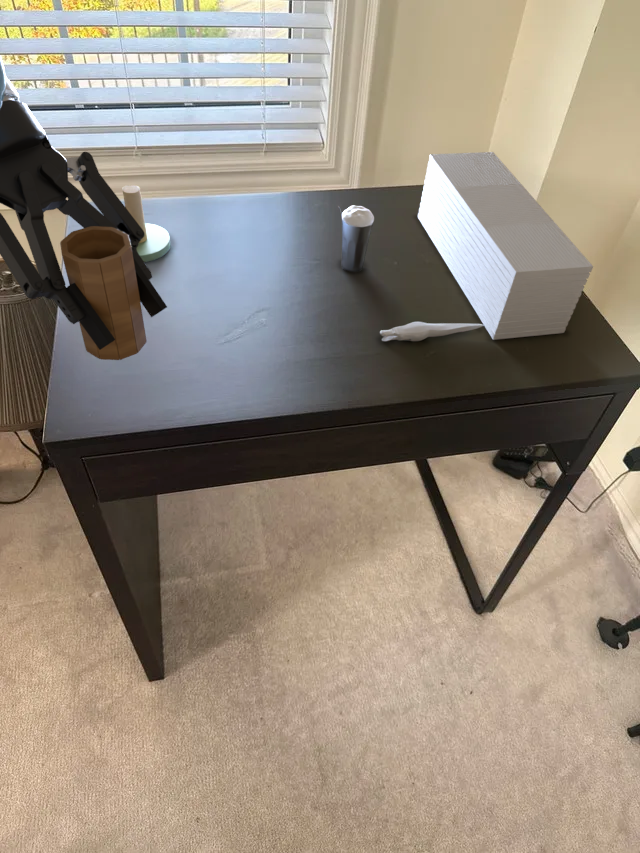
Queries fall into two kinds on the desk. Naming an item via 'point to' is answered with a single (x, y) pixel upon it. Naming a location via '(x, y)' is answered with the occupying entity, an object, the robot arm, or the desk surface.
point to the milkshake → (355, 236)
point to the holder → (146, 227)
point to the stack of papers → (501, 246)
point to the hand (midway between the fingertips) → (134, 327)
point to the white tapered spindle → (425, 330)
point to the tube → (107, 287)
